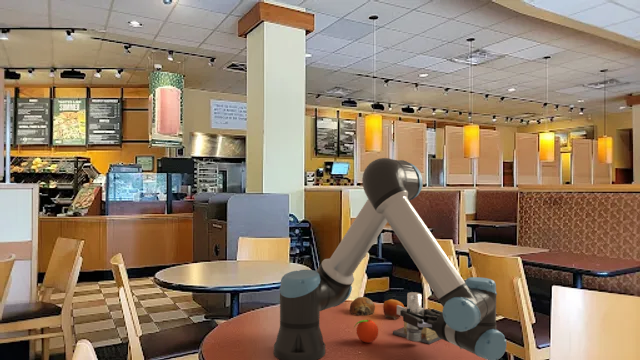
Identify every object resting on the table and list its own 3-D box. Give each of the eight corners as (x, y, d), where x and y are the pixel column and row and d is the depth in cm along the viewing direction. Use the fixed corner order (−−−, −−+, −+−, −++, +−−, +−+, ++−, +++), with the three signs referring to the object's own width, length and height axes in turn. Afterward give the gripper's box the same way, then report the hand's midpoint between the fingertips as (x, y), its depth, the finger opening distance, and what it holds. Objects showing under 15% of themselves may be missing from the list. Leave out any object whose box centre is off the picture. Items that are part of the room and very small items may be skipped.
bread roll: (376, 322, 176) (380, 302, 179) (366, 316, 168) (370, 295, 172) (354, 318, 181) (358, 298, 185) (343, 312, 174) (348, 292, 177)
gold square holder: (429, 344, 139) (429, 328, 139) (392, 334, 149) (392, 319, 149) (451, 334, 149) (451, 319, 149) (416, 325, 159) (415, 311, 159)
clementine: (356, 346, 136) (356, 323, 136) (350, 339, 143) (350, 317, 143) (381, 345, 138) (381, 321, 138) (374, 338, 144) (374, 316, 145)
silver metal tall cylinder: (416, 342, 135) (416, 296, 135) (403, 338, 138) (404, 293, 139) (424, 339, 138) (424, 294, 139) (411, 335, 141) (412, 291, 142)
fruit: (378, 316, 166) (381, 295, 170) (384, 322, 172) (387, 302, 176) (398, 318, 162) (402, 297, 166) (404, 325, 168) (407, 305, 172)
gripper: (428, 347, 118) (381, 323, 140) (477, 339, 126) (425, 317, 147) (428, 318, 119) (381, 299, 140) (478, 312, 126) (425, 295, 147)
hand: (404, 308), depth 143 cm, fingers closed on silver metal tall cylinder, 4 cm apart
